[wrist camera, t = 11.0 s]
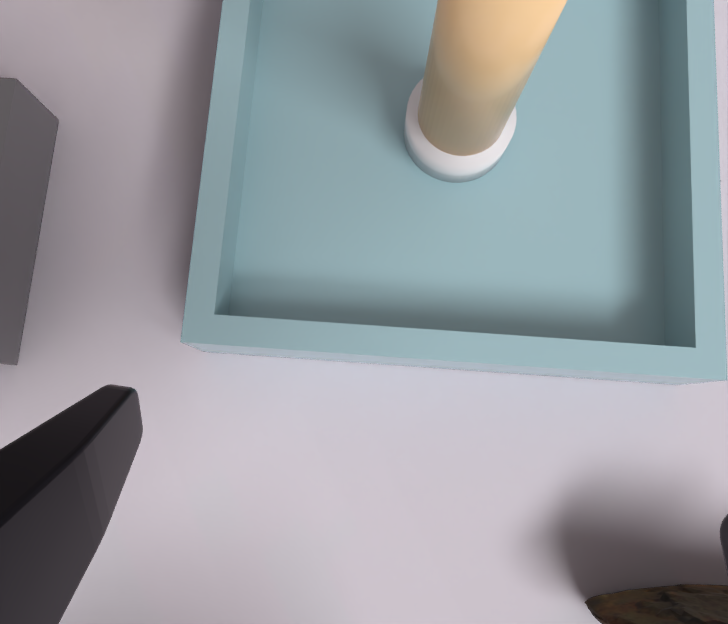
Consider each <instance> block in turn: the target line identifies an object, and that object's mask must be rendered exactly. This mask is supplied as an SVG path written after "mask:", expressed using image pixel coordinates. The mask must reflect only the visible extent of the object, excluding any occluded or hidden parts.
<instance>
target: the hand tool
mask: <svg viewBox="0 0 728 624" xmlns="http://www.w3.org/2000/svg"><path fill="white" fill-rule="evenodd" d="M585 603H586V605H587V606H588V609H589V610H590V611H591V613H592V614H593V616H594V617H595V618H596V619H597V620H598V621H599V622H600V623H602V624H728V586H723V585H689V584H680V585H677V586H666V587H654V588H644V589H635V590H627V591H622V592H618V593H613V594H606V595H599V596H595V597H592V598H590V599H588V600H587V601H586V602H585Z"/></svg>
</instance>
